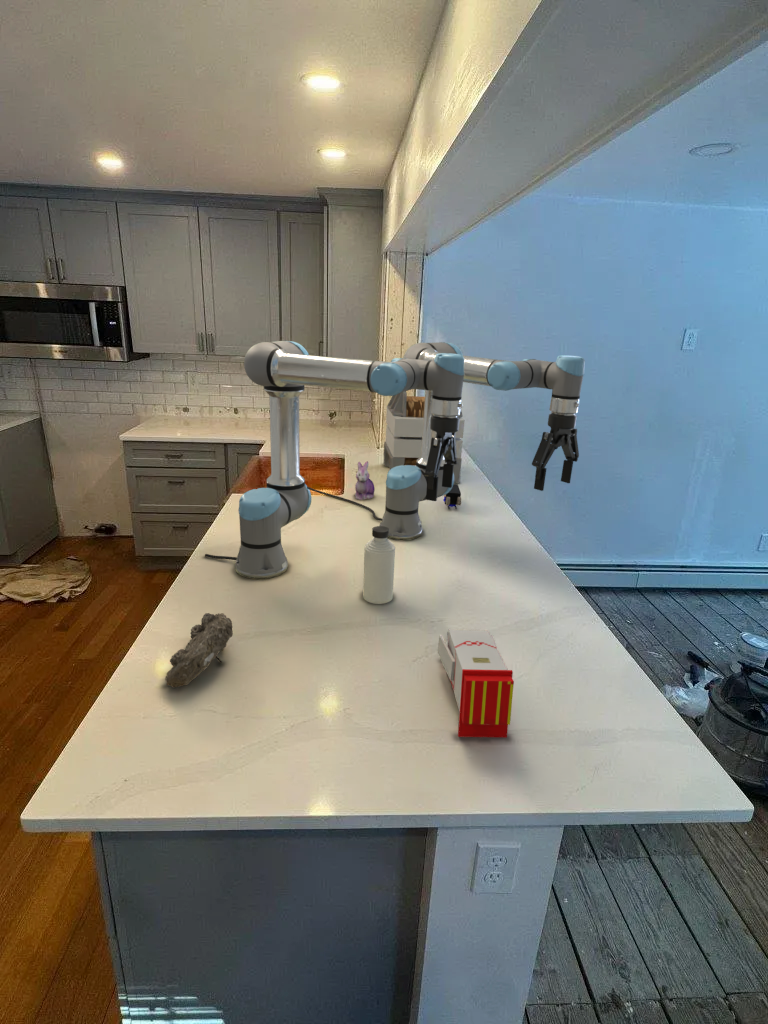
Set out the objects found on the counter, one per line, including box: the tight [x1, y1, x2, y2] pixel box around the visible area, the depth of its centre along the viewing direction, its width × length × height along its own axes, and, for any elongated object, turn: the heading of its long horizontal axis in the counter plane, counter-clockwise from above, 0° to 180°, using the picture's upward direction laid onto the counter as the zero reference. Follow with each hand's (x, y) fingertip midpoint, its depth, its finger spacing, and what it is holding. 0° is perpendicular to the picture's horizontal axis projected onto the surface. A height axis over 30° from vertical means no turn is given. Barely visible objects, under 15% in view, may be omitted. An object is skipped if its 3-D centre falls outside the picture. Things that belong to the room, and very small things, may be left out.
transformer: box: [383, 391, 465, 484], centre depth 268 cm, size 34×33×41 cm
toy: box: [437, 628, 515, 738], centre depth 117 cm, size 12×13×30 cm
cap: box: [371, 525, 389, 539], centre depth 150 cm, size 4×4×2 cm
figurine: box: [354, 460, 376, 501], centre depth 234 cm, size 9×10×15 cm
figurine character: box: [442, 483, 462, 510], centre depth 230 cm, size 7×8×15 cm
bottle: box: [362, 537, 396, 605], centre depth 153 cm, size 8×8×20 cm
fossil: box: [165, 612, 234, 688], centre depth 123 cm, size 22×10×15 cm
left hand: (439, 493), depth 154 cm, fingers open, 13 cm apart
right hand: (552, 485), depth 166 cm, fingers open, 13 cm apart
